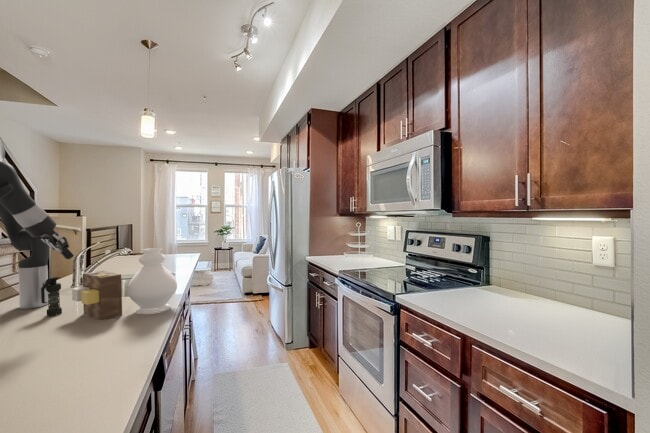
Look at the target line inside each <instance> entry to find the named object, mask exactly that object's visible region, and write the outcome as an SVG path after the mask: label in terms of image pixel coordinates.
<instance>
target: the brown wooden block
mask: <svg viewBox="0 0 650 433" xmlns="http://www.w3.org/2000/svg"><path fill="white" fill-rule="evenodd" d="M84 286H85V287H89V288H90V289H96V290H99V291H100V302H98V303H93V304H89V305H86V304H83V315H85V316H88V317H90V318H93V319H95V320H99V321H101V322H104V321H106V320H110V319H113V317H114V318H117V317H120V316H123V299H122V298H123V296H122V294H123V291H122V274H121V273H115V272H110V271H105V270H100V271H92V272H86V273H82V287H84ZM116 316H117V317H116Z"/></svg>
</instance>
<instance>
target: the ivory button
mask: <svg viewBox="0 0 650 433" xmlns="http://www.w3.org/2000/svg"><path fill="white" fill-rule="evenodd" d="M85 290H90V288H89V287H85V286H84V287H83V286H80V287H73V288H71V294H72V295H71V296H72V299H71V300H72V301H74V302H77V303H78V302H82V296H81V291H85Z"/></svg>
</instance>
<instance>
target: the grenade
mask: <svg viewBox="0 0 650 433" xmlns="http://www.w3.org/2000/svg"><path fill="white" fill-rule="evenodd" d="M58 279H61V277H58V276H55V277H54V276H53V277H50V278H49V277H48V279H47V280H46V282H45V281H44V282H45V284H44V283H43V286H42V288H41V301H42V303H48V304H47V305H48V309H46V316H48V317H54V316H55V317H56V316H58V315H61V314H63V309H62V307H61V304H60V303H61V302H60V301H61V300H60V290H61V289H62V284H61V283H60V282H59V283H57V282H58ZM45 289H46V291H48V302H45V292H44V290H45Z"/></svg>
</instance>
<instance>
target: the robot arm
mask: <svg viewBox="0 0 650 433" xmlns="http://www.w3.org/2000/svg"><path fill="white" fill-rule="evenodd" d="M5 156H6V149H5V145H4V143H3V141H2V140H1V138H0V220H1V222H2V224H3V226H4V228H5V231H6V234H7V236H8V238H9V241H10V243H11V245H12V247H13V248H14V249H16V250H17V251H21V252H23V251H24V252H28V251H30V252H31V254H30V256H28V257H26V258H24V259H20V260H19V261H18V262H17V265H18V267H17V268H18V270H17V272H18V296H19V301H18V302H19V309H21V310H27V309H28V310H29V309H35V308H41V307H44V306H47V305H48V303H42V301H41V288H42V286H43V283H44V284H45V282H46V280H47V279H48V278H49V269H48V268H49V267H48V261H49V258H50V248H51V249H52V250H54V251H56V252H58V253H59V254H60V255H62V257H63V258H64V259H66V260H70V259H72V258H74V254H73V253H72V251H70V250H69V248H70V244H69V242H68V240H67V237H65V236H61V234H60V232H58V231H55V230H54V229H55V228H57V223H56V222H55V221H54V219H53V218H52V217H51V216H50V215H49V214H48V213H47V212H46V211H45V209H44V208H43V207H42V206H40V205H39V204H38V203H37V202H36V201H35V200H34V199H33V198H32V197H31V195H30V194H29V193H28V192H27V189H25V187H24V186H23V183H22V182H21V180H20V177H19V175H18V173H17V171H16V169H15V168H14V166H13V165H11V164H10V163H8V162H5ZM44 281H45V282H44ZM44 292H45V302H48V291H46V289H45V290H44Z"/></svg>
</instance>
